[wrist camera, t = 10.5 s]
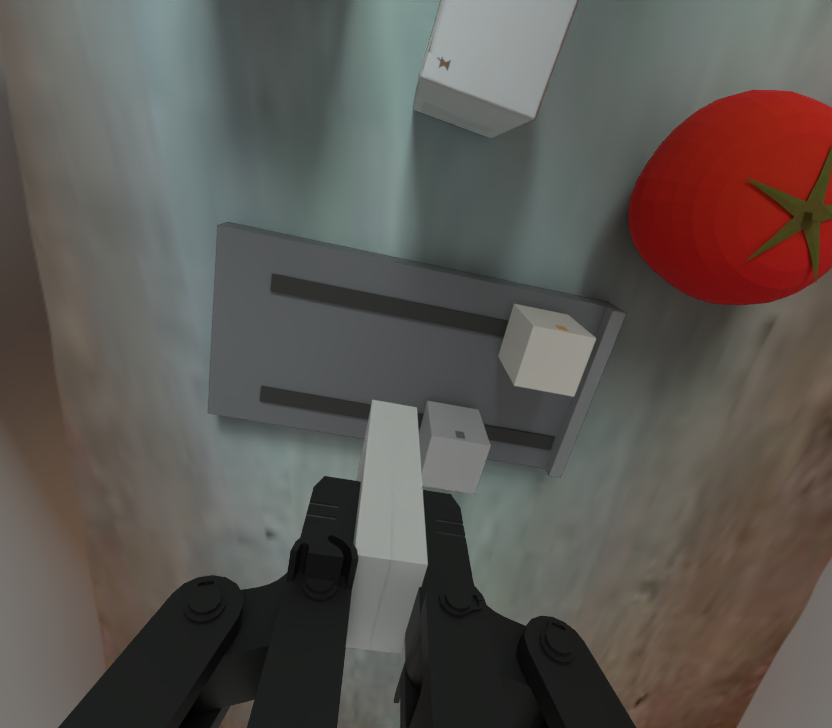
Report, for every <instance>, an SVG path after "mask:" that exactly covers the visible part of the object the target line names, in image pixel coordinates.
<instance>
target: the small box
mask: <svg viewBox="0 0 832 728" xmlns="http://www.w3.org/2000/svg"><path fill="white" fill-rule="evenodd" d="M577 3H578V0H440V4H439V8H438V11H437V15H436V18H435V22H434V25H433V29H432V32H431V36H430V39H429V43H428V46H427V50H426V53H425V57H424V61H423V64H422V67H421V70H420V73H419V79H418V84H417V88H416V93H415V98H414V104H413V110H415V111H418V112H421V113H424V114H426V115H429V116H432V117H434V118H437V119H440V120H442V121H445V122H448V123H450V124H453V125H456V126H459V127H461V128H464V129H467V130H469V131H472V132H475V133H477V134H480V135H483V136H486V137H488V138H494V137H496V136H498V135H500V134H503V133H505V132H507V131H510V130H512V129H514V128H516V127H519V126H521V125H523V124H525V123H528V122H530V121H532V120H534V119H535V118H536V116H537V113H538V110H539V107H540V105H541V102H542V99H543V96H544V94H545V91H546V88H547V85H548V83H549V80H550V77H551V74H552V72H553V69H554V66H555V63H556V61H557V58H558V55H559V52H560V50H561V47H562V44H563V42H564V39H565V36H566V33H567V30H568V28H569V25H570V22H571V19H572V17H573V14H574V11H575V9H576V6H577Z"/></svg>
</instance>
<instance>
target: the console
mask: <svg viewBox="0 0 832 728" xmlns="http://www.w3.org/2000/svg"><path fill="white" fill-rule="evenodd" d="M514 304H519V305H524V306H528V307H533V308H538V309H543V310H548V311H553V312H558V313H563V314H567V315H569V316H570V317H572V318H573V319H574V320H575V321H576V322H578V323H579V324H580V325H581V326H582V327H584V328H585V329H586V330H587V331H588V332H589V333H591V334H592V335H593V336H594V337H595V338H596V341H595V343H594V346H593V349H592V351H591V354H590V357H589V359H588V362H587V364H586V367H585V370H584V372H583V375H582V377H581V380H580V383H579V385H578V388H577V391H576V393H575V396H574V397H573V396H567V395H562V394H557V393H551V392H546V391H540V390H535V389H529V388H524V387H519V386H514V385H513V383H512V381H511V379H510V377H509V375H508V374H507V372H506V370H505V368H504V366H503V364H502V362H501V361H500V359H499V357H498V355H499V352H500V348H501V345H502V342H503V338H504V335H505V332H506V328H507V325H508V322H509V319H510V315H511V312H512V309H513V305H514ZM625 316H626V313H625V312H623V311H621V310H620V309H618V308H617V307H615V306H613V305H612V304H610V303H609V302H605V301H600V300H595V299H590V298H586V297H581V296H576V295H571V294H567V293H562V292H557V291H552V290H548V289H543V288H538V287H533V286H529V285H524V284H519V283H514V282H510V281H505V280H500V279H495V278H491V277H486V276H481V275H476V274H472V273H467V272H462V271H458V270H453V269H448V268H443V267H439V266H434V265H429V264H424V263H420V262H415V261H410V260H405V259H401V258H396V257H391V256H386V255H382V254H377V253H372V252H367V251H363V250H358V249H353V248H348V247H344V246H339V245H334V244H329V243H325V242H320V241H315V240H310V239H306V238H301V237H296V236H291V235H287V234H282V233H277V232H272V231H268V230H263V229H258V228H253V227H249V226H244V225H239V224H234V223H230V222H227V223H223V224H220V225H217V243H216V262H215V281H214V300H213V319H212V338H211V358H210V377H209V396H208V413H209V414H215V415H221V416H227V417H233V418H239V419H245V420H251V421H257V422H263V423H269V424H275V425H282V426H288V427H294V428H300V429H306V430H312V431H318V432H324V433H330V434H336V435H342V436H348V437H354V438H361V439H365V434H366V429H367V424H368V419H369V414H370V409H371V404H372V400H377V401H383V402H389V403H395V404H400V405H406V406H412V407H417V415H418V429H419V431H420V427H421V423H422V419H423V415H424V411H425V407H426V403H427V401H432V402H438V403H444V404H449V405H455V406H461V407H466V408H472V409H478V410H479V412H480V415H481V418H482V421H483V424H484V427H485V430H486V433H487V436H488V439H489V442H490V445H491V446H490V449H489V452H488V456H487V459H488V460H494V461H500V462H506V463H513V464H519V465H525V466H531V467H537V468H543V469H546V471H547V473H548V475H549V476H550V477H557V478H561V476H562V474H563V471H564V469H565V466H566V464H567V461H568V459H569V456H570V454H571V451H572V449H573V446H574V443H575V441H576V438H577V436H578V433H579V431H580V428H581V426H582V423H583V421H584V418H585V416H586V413H587V411H588V408H589V406H590V403H591V401H592V398H593V396H594V393H595V391H596V388H597V386H598V383H599V381H600V378H601V376H602V373H603V371H604V368H605V366H606V363H607V361H608V358H609V356H610V353H611V351H612V348H613V346H614V343H615V341H616V338H617V336H618V333H619V331H620V328H621V326H622V323H623V321H624V318H625Z"/></svg>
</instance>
